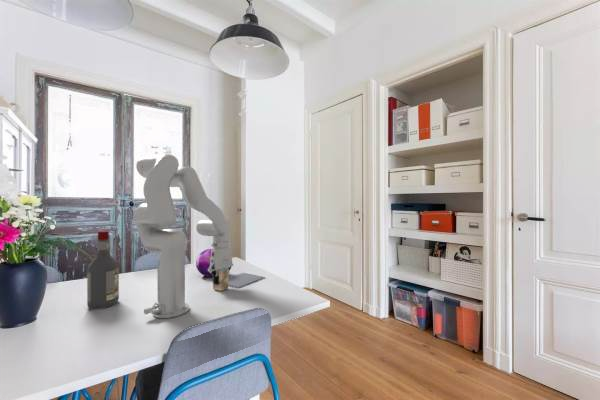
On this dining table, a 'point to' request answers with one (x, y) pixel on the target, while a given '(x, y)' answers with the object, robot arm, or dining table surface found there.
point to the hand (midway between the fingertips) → (220, 282)
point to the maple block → (222, 279)
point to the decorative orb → (204, 262)
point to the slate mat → (243, 280)
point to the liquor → (102, 276)
